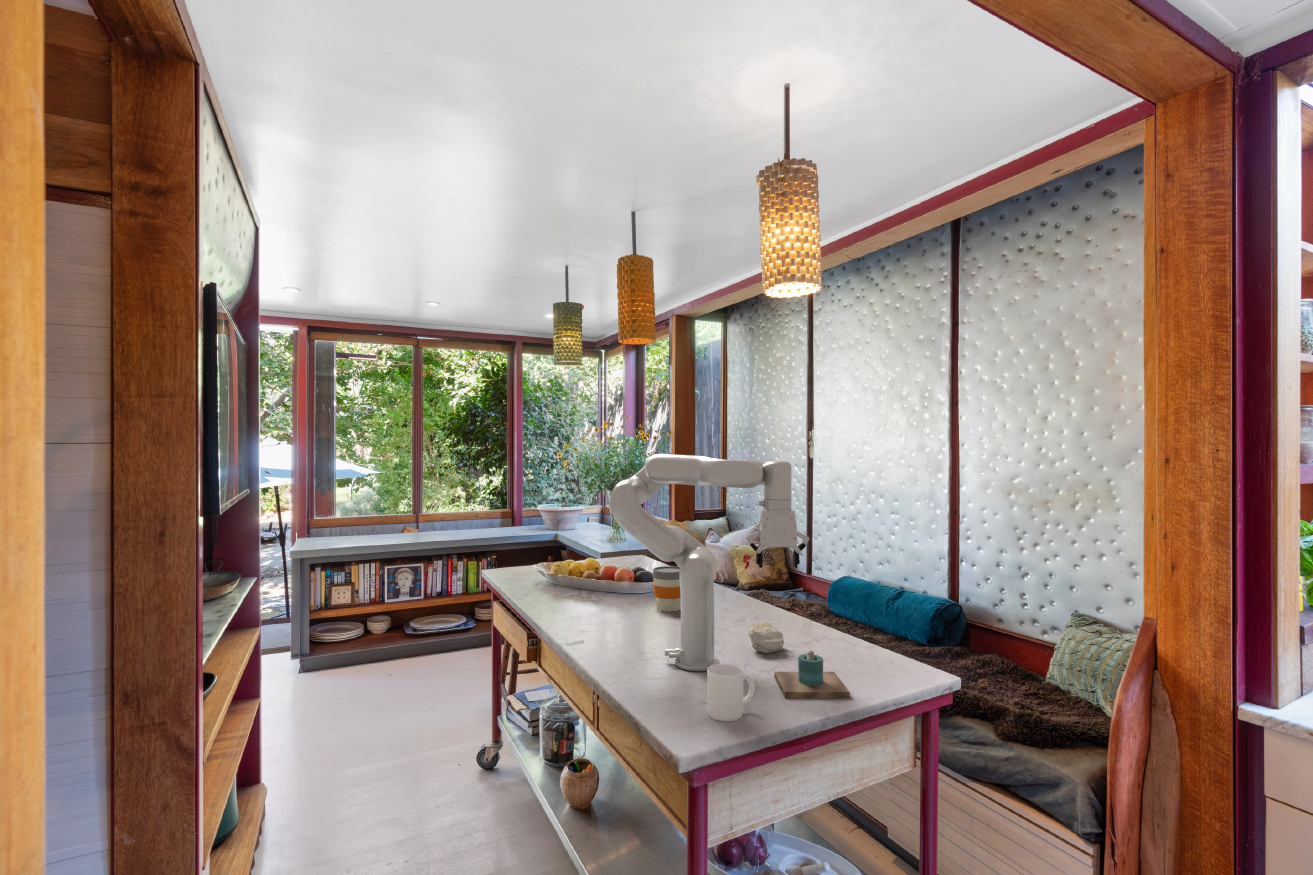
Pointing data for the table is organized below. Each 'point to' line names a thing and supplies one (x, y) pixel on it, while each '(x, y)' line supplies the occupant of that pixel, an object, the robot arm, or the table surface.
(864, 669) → the table surface
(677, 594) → the reusable coffee cup
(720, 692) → the mug
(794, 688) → the spindle stand
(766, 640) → the fossil replica
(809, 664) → the bead
